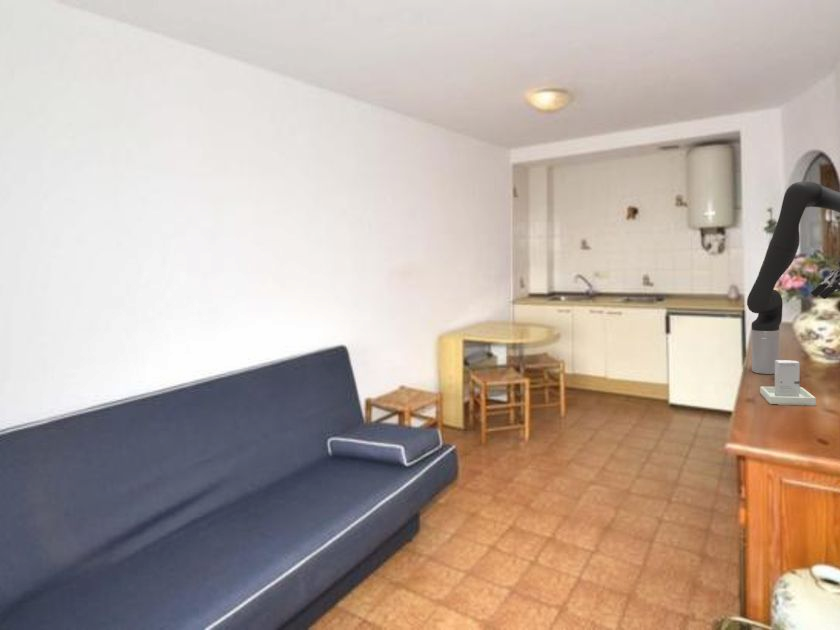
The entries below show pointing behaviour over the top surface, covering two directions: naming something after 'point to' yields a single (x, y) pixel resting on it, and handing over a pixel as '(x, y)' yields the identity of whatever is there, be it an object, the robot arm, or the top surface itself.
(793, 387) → the skincare box
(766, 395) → the tray
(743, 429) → the top surface
